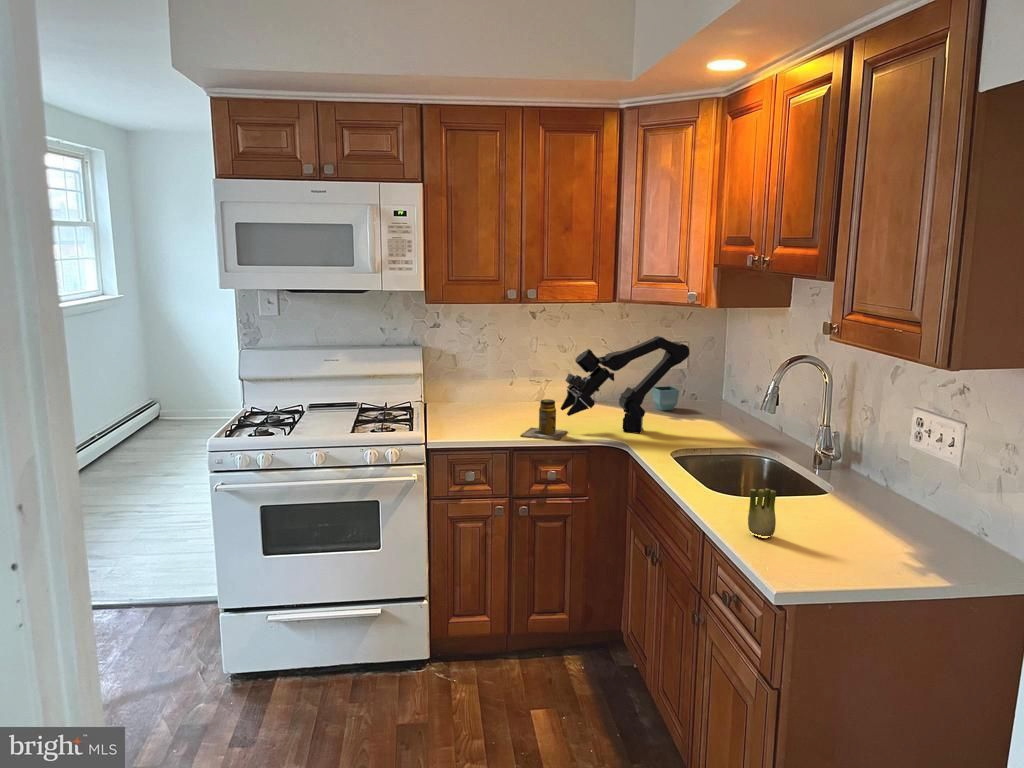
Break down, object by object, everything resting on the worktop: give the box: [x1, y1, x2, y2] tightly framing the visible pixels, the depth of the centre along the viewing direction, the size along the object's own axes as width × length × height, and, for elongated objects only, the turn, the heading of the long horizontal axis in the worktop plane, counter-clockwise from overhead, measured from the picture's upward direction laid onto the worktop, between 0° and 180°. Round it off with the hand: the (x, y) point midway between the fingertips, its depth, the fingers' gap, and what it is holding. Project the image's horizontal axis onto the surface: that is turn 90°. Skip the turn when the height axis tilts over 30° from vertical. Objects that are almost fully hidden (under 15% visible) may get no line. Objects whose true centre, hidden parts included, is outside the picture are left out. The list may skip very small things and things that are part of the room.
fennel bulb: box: [747, 487, 777, 537], centre depth 185 cm, size 6×5×12 cm
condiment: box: [531, 398, 560, 436], centre depth 279 cm, size 7×8×12 cm
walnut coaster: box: [519, 427, 568, 441], centre depth 281 cm, size 14×12×1 cm
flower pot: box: [651, 385, 680, 411], centre depth 322 cm, size 9×9×9 cm
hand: (564, 412), depth 280 cm, fingers open, 9 cm apart
